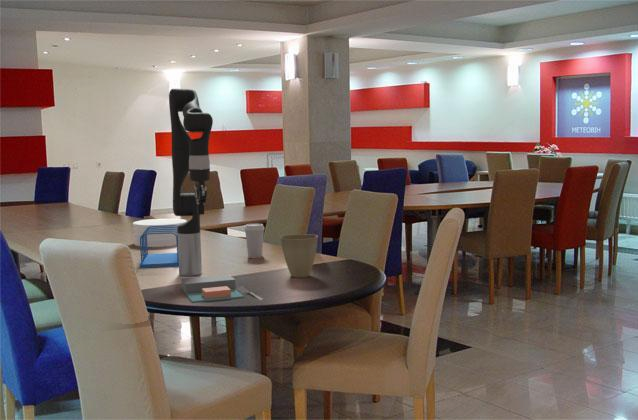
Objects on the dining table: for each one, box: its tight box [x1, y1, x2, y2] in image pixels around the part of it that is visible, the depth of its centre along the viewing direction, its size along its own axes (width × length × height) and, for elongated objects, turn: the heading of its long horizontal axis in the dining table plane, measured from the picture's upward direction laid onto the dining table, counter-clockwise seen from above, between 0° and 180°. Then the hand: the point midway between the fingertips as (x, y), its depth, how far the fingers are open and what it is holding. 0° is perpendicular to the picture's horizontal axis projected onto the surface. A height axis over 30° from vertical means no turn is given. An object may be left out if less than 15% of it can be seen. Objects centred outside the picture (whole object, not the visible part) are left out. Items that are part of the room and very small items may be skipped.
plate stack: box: [132, 218, 188, 248], centre depth 370 cm, size 28×28×12 cm
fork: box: [235, 285, 264, 301], centre depth 246 cm, size 3×24×2 cm, turn 31°
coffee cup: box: [243, 223, 266, 259], centre depth 323 cm, size 10×10×15 cm
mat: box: [185, 288, 244, 303], centre depth 245 cm, size 12×18×1 cm, turn 110°
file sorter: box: [139, 225, 179, 269], centre depth 313 cm, size 25×17×15 cm
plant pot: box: [280, 233, 319, 278], centre depth 278 cm, size 15×15×16 cm
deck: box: [180, 274, 236, 295], centre depth 256 cm, size 10×18×4 cm, turn 110°
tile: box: [202, 286, 231, 299], centre depth 244 cm, size 6×9×2 cm, turn 112°
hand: (201, 214), depth 258 cm, fingers closed
